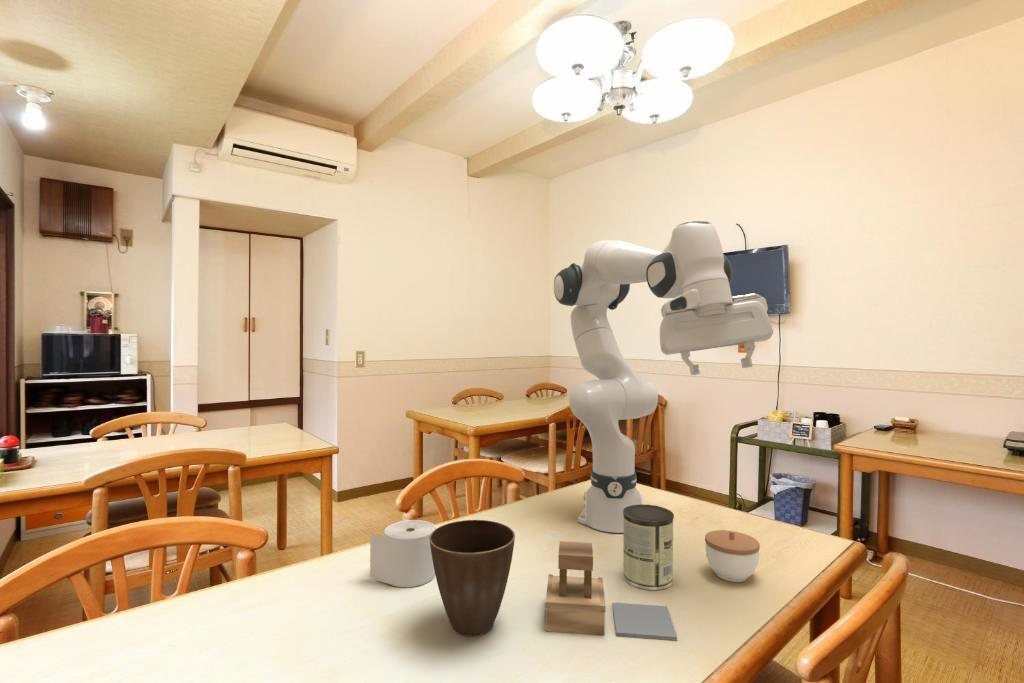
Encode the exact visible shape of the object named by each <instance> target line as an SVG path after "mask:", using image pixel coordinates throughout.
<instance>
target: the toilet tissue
mask: <svg viewBox="0 0 1024 683" xmlns="http://www.w3.org/2000/svg"><path fill="white" fill-rule="evenodd" d="M435 529H437V528H436V525H435V524H434V523H432V522H430V521H427V520H426V521H425V520H420V519H410V520H409V519H407V520H405V519H404V520H400V521H397V522H394V523H391V524H389V525H388V526H386V528H384V532H383V533H384V534H383V535H381V534H377V533H374V532H372V531H370V532H369V535H370V539H369V541H370V542H369V544H370V546H369V547H370V548H369V550H370V551H369V552H370V553H369V554H370V555H369V558H370V560H369V562H370V564H369V566H370V570H369V577H370V578H372V579H374V580H375V581H379V582H381V583H385V584H388V585H390V586H393V587H397V588H413V587H418V585H419V586H422V585H425V584H427V583H429V582H430V581H432V580H433V579H434V578H435V577H436V575H435V571H434V566H433V560H432V554H431V547H430V540H429V537H430V535H431V533H432V532H433V531H434V530H435Z"/></svg>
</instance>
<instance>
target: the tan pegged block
mask: <svg viewBox="0 0 1024 683" xmlns="http://www.w3.org/2000/svg"><path fill="white" fill-rule="evenodd" d="M557 563H558V567H557V568H558V570H559V576H560V577H559V596H560V597H566V585H567V575H568V570H569V571H571V570H573V571H574V570H575V571H583V577H584V598H589V599H591V592H592V578H593V577H592V573H593V571H594V552H593V543H592V542H579V541H563V540H562V541H561V540H560V541H559V544H558V561H557Z"/></svg>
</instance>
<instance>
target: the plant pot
mask: <svg viewBox="0 0 1024 683" xmlns="http://www.w3.org/2000/svg"><path fill="white" fill-rule="evenodd" d="M429 540H430V547H431V554H432V560H433V566H434V571H435V579H436V583H437V587H438V591H439V594H440V599H441V601H442V604H443V607H444V610H445V613H446V615H447V618H448V621H449V624H450V626H451V628H452V630H453V631H454V632H455V633H456V634H458V635H460V636H465V637H477V636H483V635H485V634H486V633H488V632H490V631H491V630H492V629H493V627H494V624H495V622H496V621H497V620H496V619H497V617H498V614H499V611H500V608H501V606H502V602H503V599H504V595H505V592H506V588H507V584H508V580H509V575H510V571H511V565H512V559H513V554H514V546H515V540H516V534H515V531H514V530H513V529H512V528H511V527H509V526H508V525H506V524H503V523H501V522H496V521H491V520H485V519H483V520H482V519H467V520H466V519H463V520H457V521H453V522H449V523H445V524H443V525H441V526H439V527H437V528H436V529H435V530H434V531H433V532H432V533H431V535H430V537H429Z"/></svg>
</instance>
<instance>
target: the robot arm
mask: <svg viewBox="0 0 1024 683" xmlns="http://www.w3.org/2000/svg"><path fill="white" fill-rule="evenodd" d="M583 259H584V260H583V262H582V263H580V264H577V263H576V262H573V263H570V265H569V266H568V267H566V268H563V269H561V270H560V271H559V272H558V273H557V274H556V275H555V277H554V280H553V294H554V297H555V299H556V301H557V302H558V303H559V304H561V305H563V306H567V307H568V306H569V307H573V306H575V307H574V308H573V309H572V311H571V313H570V326H571V331H572V335H573V336H572V337H573V341H574V344H575V347H576V350H577V353H578V357H579V361H580V363H581V366H582V367H583V369H584V370H585V371H586V372H588V373H589V374H591V375H592V376H594V377H596V378H598V379H591V380H588V381H587V380H586V381H584V382H580V383H577V384H575V385H574V386H573V388H572V389H571V391H570V395H569V399H568V400H569V401H568V402H569V403H568V404H569V408H570V411H571V412H572V415H574V417H576V418H577V419H578V420H579V421H580V422H581V423H582V425H584V426H585V428H586V430H587V431H588V434H589V436H590V440H591V448H592V469H591V471H590V484H591V486H590V487H589V488H588V489H587V491H585V492H584V494H583V500H584V502H585V503H584V504H583V508H582V510H581V511H580V514H579V515H578V517H577V523H580V524H581V525H582V524H583V525H586V526H588V527H590V528H591V529H594V530H597V531H601V532H605V533H614V534H615V533H616V534H617V533H619V534H621V533H622V534H623V530H624V515H623V509H624V508H626V507H628V506H631V505H640V504H643V498H642V494H641V493H640V492H639V490H638V489H637V487H636V486H637V481H638V479H637V478H638V477H637V472H636V471H635V469H636V468H635V467H636V466H635V462H636V460H635V457H636V453H635V452H636V450H635V449H636V447H635V444H634V442H633V440H632V439H630V437H628V436H627V435H626V434H624V433H622V432H621V429H620V426H619V421H621V420H633V419H639V418H643V417H646V416H649V415H651V414H653V413H654V412H655V410H656V409H657V407H658V403H659V394H658V392H657V389H656V387H655V385H654V384H653V383H652V382H651V381H649V380H647V379H645V378H643V377H642V376H641V375H639V374H638V373H637V372H636V371H635V370H634V369H633V367H631V365H629V363H628V361H626V360H625V358H624V356H623V355H622V353H621V350H620V348H619V345H618V343H617V341H616V338H615V335H614V333H613V332H614V331H613V330H612V327H611V325H610V322H609V321H608V319H609V318H608V317H607V312H608V309H609V310H611V311H613V310H615V309H617V308H618V306H619V304H621V303H622V302H624V300H625V299H626V297H627V296H628V294H629V292H630V289H631V284H632V285H633V284H640V283H647V286H648V288H649V290H650V291H651V293H652V294H653V295H654V296H656V298H658V299H659V298H660V299H661V298H662V299H669V300H668V301H665V303H664V304H663V305H662V306H661V309H660V314H661V317H662V320H661V322H660V326H659V345H660V351H661V352H662V353H663V354H664V355H666V356H670V355H675V354H676V355H677V354H680V357H681V360H682V361H683V362H684V363H685V364H686V366H688V367H689V368H688V369H689V374H690V375H691V376H694V375H695V376H696V375H700V373H701V372H700V368H699V364H694V363H693V362H692V361H691V359H689V358H690V357H691V352H696V351H703V350H705V351H706V350H710V349H718V348H723V347H724V348H725V347H731V346H732V347H733V346H737V345H743V346H744V350H747V352H746V355H745V357H743V358H740V363H741V367H742V369H748V368H752V367H753V361H752V356H753V354H754V351H755V348H756V344H755V343H759V342H765V341H768V340H770V339H771V337H772V336H773V335H774V329H773V326H772V322H771V319H770V317H769V314H768V310H769V309H768V308H769V306H768V303H767V299H766V298H765V297H764V296H762V295H761V294H757V293H755V292H753V293H748V294H741V295H732V290H731V284H732V282H733V279H734V278H733V277H734V269H733V266H732V262H730V260H729V258H727V256H726V255H725V253H724V251H723V246H722V242H721V240H720V236H719V234H718V231H717V230H716V227H715V226H714V225H713V224H712V222H709V221H703V220H702V221H701V220H699V221H698V220H694V221H688V222H683V223H680V224H677V225H676V226H675V227H674V228H673V230H672V232H671V237H670V241H669V242H668V243H667V245H666V246H665V248H664V249H663V250H662V251H659V250H657V249H652V248H648V247H645V246H642V245H638V244H635V243H632V242H630V241H629V242H628V241H624V240H619V239H604V240H599V241H595V242H594V243H592V244H591V245H589V247H587V249H586V251H585V253H584V258H583Z"/></svg>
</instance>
